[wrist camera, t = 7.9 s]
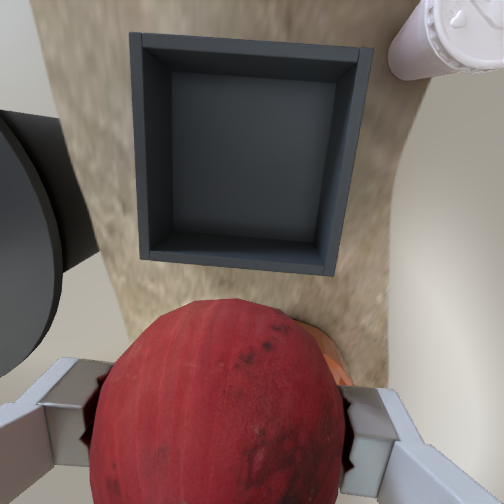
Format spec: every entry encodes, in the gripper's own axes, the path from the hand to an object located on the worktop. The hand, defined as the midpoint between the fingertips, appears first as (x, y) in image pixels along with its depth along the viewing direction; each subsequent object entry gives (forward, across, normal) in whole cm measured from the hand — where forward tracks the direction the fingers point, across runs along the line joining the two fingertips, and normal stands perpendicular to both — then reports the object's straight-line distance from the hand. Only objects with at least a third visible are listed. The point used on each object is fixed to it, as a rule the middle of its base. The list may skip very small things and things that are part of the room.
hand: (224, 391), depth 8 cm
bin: (+21, +1, -5) cm, 22 cm away
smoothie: (+21, -11, -14) cm, 28 cm away
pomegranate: (+3, 0, 0) cm, 3 cm away
